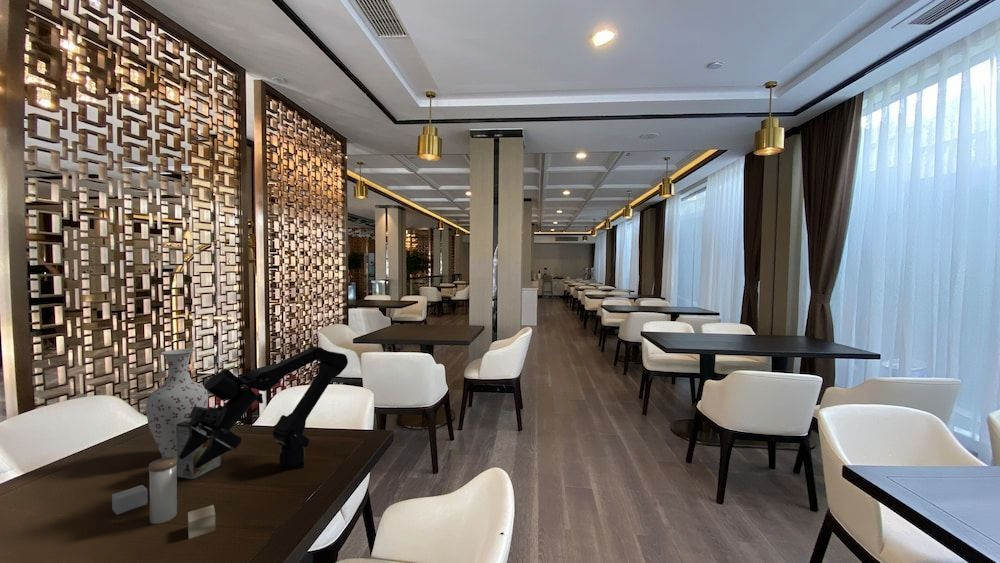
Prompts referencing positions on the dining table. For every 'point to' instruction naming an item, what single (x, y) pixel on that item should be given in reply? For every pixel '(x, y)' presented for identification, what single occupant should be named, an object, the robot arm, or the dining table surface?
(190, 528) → the birch block
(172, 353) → the vase
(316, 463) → the dining table surface
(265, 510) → the dining table surface
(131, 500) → the grey block
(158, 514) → the ceramic jar
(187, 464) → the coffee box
